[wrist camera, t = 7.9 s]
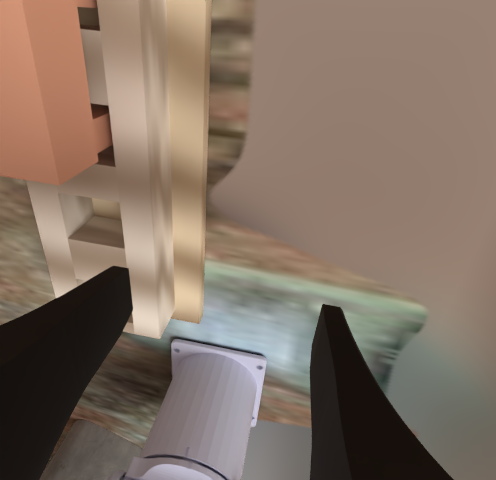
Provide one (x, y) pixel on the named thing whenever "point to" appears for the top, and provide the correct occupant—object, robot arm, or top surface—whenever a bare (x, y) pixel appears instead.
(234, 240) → the top surface
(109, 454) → the hip flask
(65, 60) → the clip
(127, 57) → the cream wooden flat frame
